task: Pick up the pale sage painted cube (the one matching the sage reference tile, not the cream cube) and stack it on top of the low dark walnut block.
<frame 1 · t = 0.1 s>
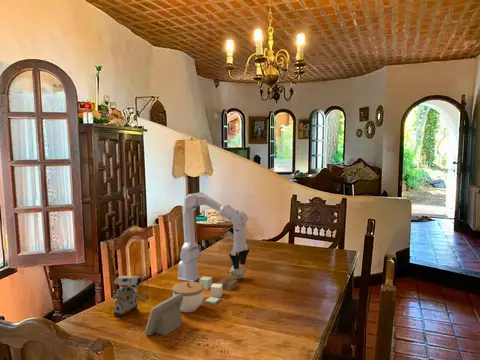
hand: (239, 266, 166), 10 cm above the table, tool pointing down, fingers open, 7 cm apart
walnut base: (227, 287, 167), on the table
sage cube: (205, 287, 166), on the table
figurine: (130, 313, 139), on the table
lidded bowl: (188, 309, 143), on the table
digital clock: (165, 328, 127), on the table
game die: (237, 279, 177), on the table
reference tile: (212, 301, 150), on the table
cream cube: (216, 295, 157), on the table
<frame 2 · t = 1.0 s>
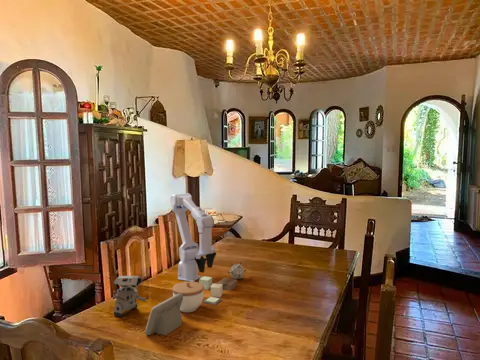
hand: (205, 269, 165), 8 cm above the table, tool pointing down, fingers open, 7 cm apart
nothing on the table moved.
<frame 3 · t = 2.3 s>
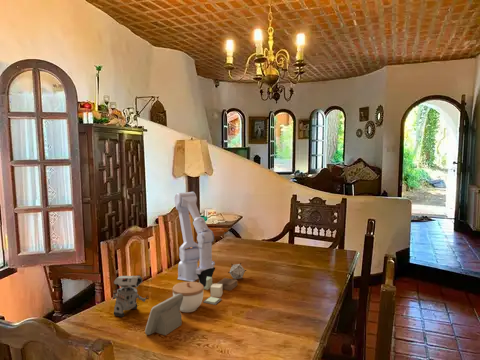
hand: (205, 284, 166), 1 cm above the table, tool pointing down, fingers closed on sage cube, 4 cm apart
sage cube: (205, 287, 166), on the table, touching gripper
everything else where it was.
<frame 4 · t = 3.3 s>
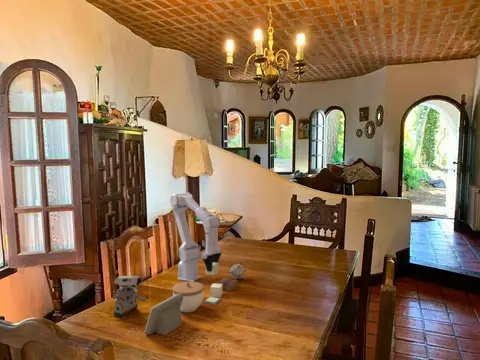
hand: (211, 269, 166), 8 cm above the table, tool pointing down, fingers closed on sage cube, 4 cm apart
sage cube: (212, 273, 166), point 7 cm above the table, touching gripper
everything else where it was.
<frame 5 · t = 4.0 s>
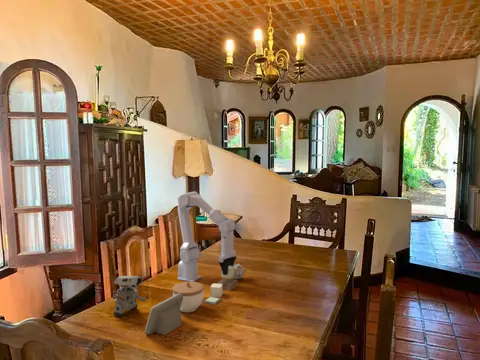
hand: (227, 272, 166), 7 cm above the table, tool pointing down, fingers closed on sage cube, 4 cm apart
sage cube: (227, 276, 166), point 5 cm above the table, touching gripper
everything else where it was.
when the fingers open (6 cm above the table, at t = 4.6 s): sage cube drops 1 cm, resting on walnut base.
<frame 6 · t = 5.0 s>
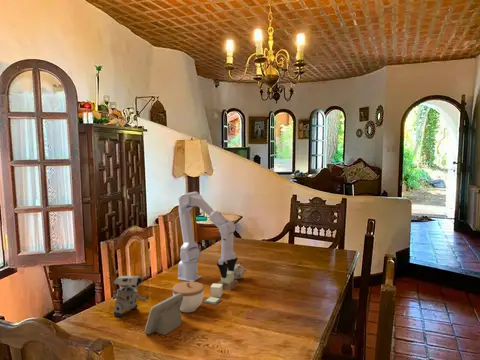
hand: (227, 275, 166), 6 cm above the table, tool pointing down, fingers open, 7 cm apart
walnut base: (227, 287, 167), on the table, touching sage cube
sage cube: (227, 281, 167), point 3 cm above the table, touching walnut base
everything else where it was.
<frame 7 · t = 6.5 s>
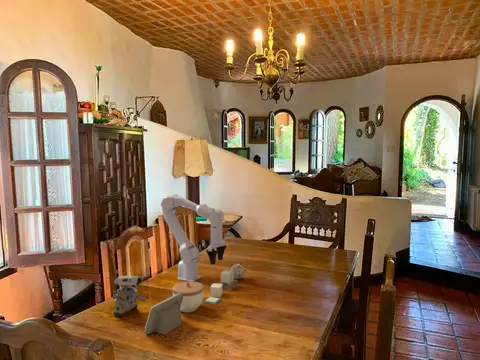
hand: (216, 261, 173), 10 cm above the table, tool pointing down, fingers open, 7 cm apart
nothing on the table moved.
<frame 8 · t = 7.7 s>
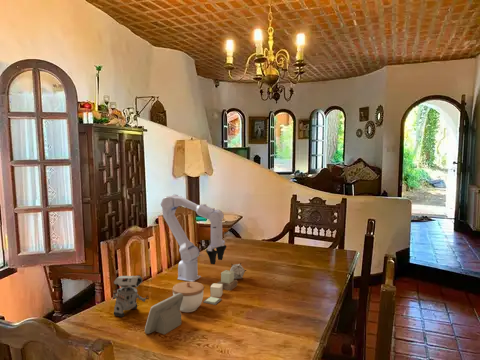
hand: (216, 261, 173), 10 cm above the table, tool pointing down, fingers open, 7 cm apart
walnut base: (227, 287, 167), on the table
sage cube: (227, 281, 167), point 3 cm above the table
everything else where it was.
at the end: sage cube 0.3 cm off-centre on the walnut base, point 3.0 cm above the walnut base's base; sage cube tilted 0°; the gripper is holding nothing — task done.
